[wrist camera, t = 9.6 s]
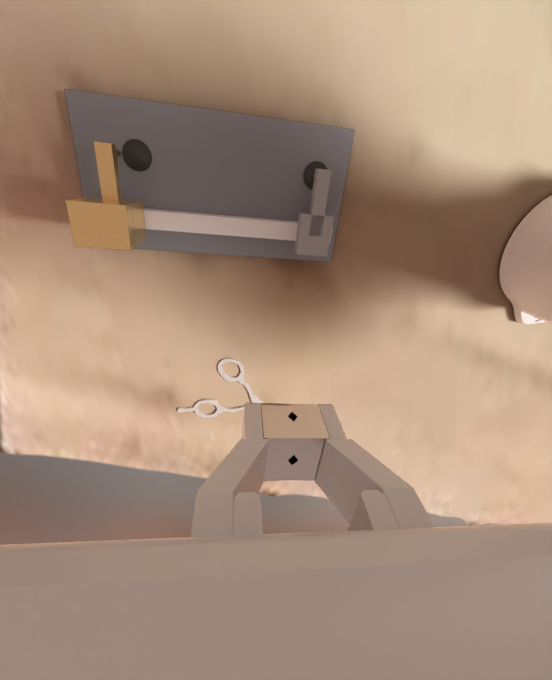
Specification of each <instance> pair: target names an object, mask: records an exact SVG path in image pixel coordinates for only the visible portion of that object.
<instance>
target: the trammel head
mask: <svg viewBox="0 0 552 680" xmlns="http://www.w3.org/2000/svg"><path fill="white" fill-rule="evenodd" d="M94 146H95V153H96V160H97V167H98V173H99V180H100V187H101V194H102V197H99V196H90V197H83V198H76V199H69V200H65V201H66V206H67V211H68V216H69V221H70V226H71V231H72V236H73V241H74V246H75V247H89V248H103V249H118V250H132V249H133V248H135V247H136V246H138V245H139V244H140V243H142V242H143V241H144V240H146V239H147V237H146V227H145V216H144V205H143V201H142V200H132V199H122V193H121V185H120V177H119V169H118V160H117V157H120V156H121V152H120V150H118V149H116V145H115V144H111V143H102V142H94Z"/></svg>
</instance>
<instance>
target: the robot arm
mask: <svg viewBox="0 0 552 680" xmlns="http://www.w3.org/2000/svg"><path fill="white" fill-rule="evenodd" d="M499 275H500V284H501V288H502V290H503V292H504V294H505V295H506V297H507V298H508V299H509V300H510V301H511V303H512V304H513V308H514V316H515V319H516V321H517V322H519V323H522V324H525V325H528V324H535V323H542V322H549V323H552V195H551V196H549V197H547V198H546V199H544V200H543V201H542V202H541V203H539V204H538V205H537V206H536V207H535V208H533V209H532V210H531V211H530V212H529V213H528V214H527V215H526V217H525V218H524V219H523V220H522V221H521V222H520V224H519V225H518V226H517V228H516V229H515V231H514V232H513V234H512V236H511V237H510V239H509V241H508V243H507V245H506V247H505V250H504V253H503V256H502V259H501V264H500V273H499ZM280 480H315V482H316V484H317V485H318V486H319V487H320V488H321V490H322V491H323V492H324V493H325V495H326V496H327V497H328V498H329V499H330V501H331V502H332V503H333V504H334V505H335V507H336V508H337V509H338V510H339V511H340V513H341V514H342V515H343V516H344V518H345V519H346V520H347V521H348V523H349V524H350V525H349V528H348V530H347V531H336V532H313V533H312V532H310V533H286V534H263V528H262V514H261V500H260V496H259V495H258V494H257V493H258V492H259V490H260V488H261V486H262V484H263V481H280ZM0 680H552V523H532V524H507V525H482V526H457V527H434V525H433V523H432V521H431V520H430V518H429V516H428V514H427V512H426V510H425V509H424V507H423V505H422V503H421V501H420V499H419V498H418V496H417V494H416V492H415V490H414V488H413V487H411V486H410V485H409V484H408V483H406V482H405V481H404V480H402V479H401V478H400V477H399V476H397V475H396V474H395V473H394V472H392V471H391V470H390V469H388V468H387V467H386V466H385V465H383V464H382V463H381V462H380V461H378V460H377V459H376V458H374V457H373V456H372V455H371V454H369V453H368V452H367V451H366V450H364V449H363V448H362V447H361V446H359V445H358V444H357V443H355V442H354V441H353V440H352V439H347V438H346V436H345V433H344V431H343V428H342V426H341V423H340V421H339V418H338V416H337V414H336V411H335V409H334V406H333V405H332V404H317V405H316V404H277V403H247V402H245V405H244V417H243V429H242V439H241V440H240V441H239V442H238V443H237V444H236V446H235V447H234V448H233V449H232V450H231V452H230V453H229V454H228V455H227V456H226V458H225V459H224V460H223V461H222V462H221V464H220V465H219V466H218V467H217V469H216V470H215V471H214V472H213V473H212V475H211V476H210V477H209V478H208V479H207V481H206V482H205V483H204V484H203V485H202V487H201V488H200V489H199V490H198V492H197V497H196V504H195V510H194V518H193V525H192V532H191V537H186V538H161V539H136V540H114V541H113V540H112V541H87V542H62V543H39V544H38V543H37V544H13V545H0Z"/></svg>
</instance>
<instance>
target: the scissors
mask: <svg viewBox="0 0 552 680" xmlns="http://www.w3.org/2000/svg"><path fill="white" fill-rule="evenodd" d="M228 361H230V362H234V363H236V364H238V365H239V367H240V370H241V372H240V374H239V375H238V376H236V377H231V376H229V375H227V374H226V373H224V371H223V370H222V368H221V367H222V365H223V364H224V363H225V362H228ZM218 372H219V373H220V375H221V376H222V377H223V378H224V379H225V380H226V381H239V383H241V384H242V385H244V386H245V387H246V389H247V391H248V393H249V395H250V398H251V401H252V403H265V402H264V401H262V400H261V399H259V398H258V397H257V396H256V395H255V394H253V393H252V391H251V386H250V385H249V384H247V383H246V382H244V369H243V366H242V364H241V363H240V362H239V361H237V360H236V359H233V358H225V359H222V360H221V361H220V362H219V364H218ZM202 403H210V404H213V405H215V406H216V408H217V410H216V411H215V412H214V413H211V414H205V413H202V412H200V411H199V410H198V406H199V405H200V404H202ZM243 409H244V406H240V407H234V408H228V407H224V406H221V405H220V404H219V403H218V402H217V401H216V400H215V399H203V400H200V401H198V402H197V403H196V404H195V405H194V407H187V408H184V407H179V408H178V412H184V411H195V413H196V414H197V415H199V416H200V417H204V418H211V417H215V416H217V415H218V414H220V413H221V412H225V411H229V412H233V413H234V412H236V411H238V410H243Z"/></svg>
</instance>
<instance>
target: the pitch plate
mask: <svg viewBox="0 0 552 680" xmlns="http://www.w3.org/2000/svg"><path fill="white" fill-rule="evenodd" d="M64 91H65V96H66V102H67V108H68V114H69V119H70V125H71V131H72V137H73V142H74V148H75V154H76V160H77V165H78V171H79V177H80V182H81V188H82V194H83V197H90V196H99V197H102V194H101V187H100V180H99V173H98V167H97V160H96V153H95V146H94V142H102V143H111V144H115V145H116V149H118V150H120V152H121V156H120V157H117V160H118V169H119V177H120V185H121V193H122V199H132V200H142V201H143V205H144V216H145V227H146V237H147V239H146V240H144V241H143V242H142V243H140V244H139V245H138V246H136V247H135V248H133V249H147V250H161V251H176V252H190V253H205V254H219V255H234V256H248V257H263V258H277V259H291V260H306V261H320V262H331V259H332V254H333V248H334V243H335V237H336V231H337V226H338V220H339V215H340V209H341V203H342V198H343V192H344V187H345V181H346V175H347V170H348V164H349V159H350V153H351V147H352V142H353V136H354V131H355V130H353V129H346V128H339V127H332V126H325V125H318V124H311V123H304V122H297V121H290V120H283V119H275V118H268V117H261V116H254V115H247V114H240V113H233V112H226V111H219V110H212V109H205V108H198V107H190V106H183V105H176V104H169V103H162V102H155V101H148V100H141V99H134V98H127V97H120V96H113V95H106V94H98V93H91V92H84V91H77V90H70V89H64Z"/></svg>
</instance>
